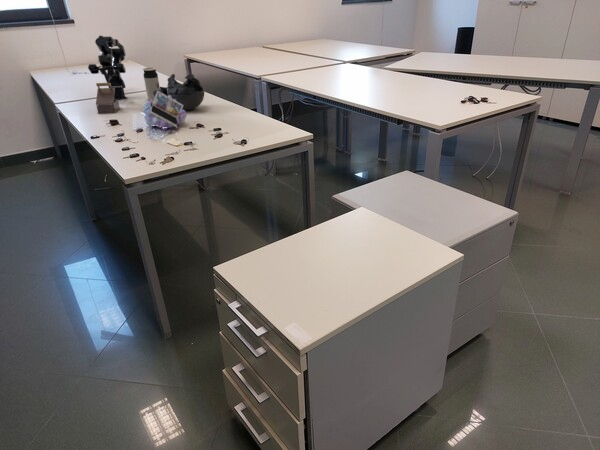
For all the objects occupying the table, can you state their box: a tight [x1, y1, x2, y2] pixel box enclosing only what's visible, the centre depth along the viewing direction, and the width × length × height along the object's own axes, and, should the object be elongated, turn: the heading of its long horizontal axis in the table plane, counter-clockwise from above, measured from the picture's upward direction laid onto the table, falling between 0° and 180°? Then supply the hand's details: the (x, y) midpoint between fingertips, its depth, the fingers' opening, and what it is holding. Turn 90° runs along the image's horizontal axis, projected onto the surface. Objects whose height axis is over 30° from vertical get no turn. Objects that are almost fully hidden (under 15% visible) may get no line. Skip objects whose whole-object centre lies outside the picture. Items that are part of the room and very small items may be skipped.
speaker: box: [153, 86, 168, 97], centre depth 239 cm, size 8×6×10 cm
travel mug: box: [142, 67, 161, 101], centre depth 250 cm, size 8×8×18 cm
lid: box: [95, 82, 115, 105], centre depth 226 cm, size 12×9×6 cm
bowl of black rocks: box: [166, 73, 205, 111], centre depth 230 cm, size 20×20×19 cm
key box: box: [95, 99, 120, 115], centre depth 231 cm, size 11×9×5 cm
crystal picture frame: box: [142, 90, 187, 131], centre depth 204 cm, size 20×22×18 cm
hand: (107, 82), depth 234 cm, fingers closed
